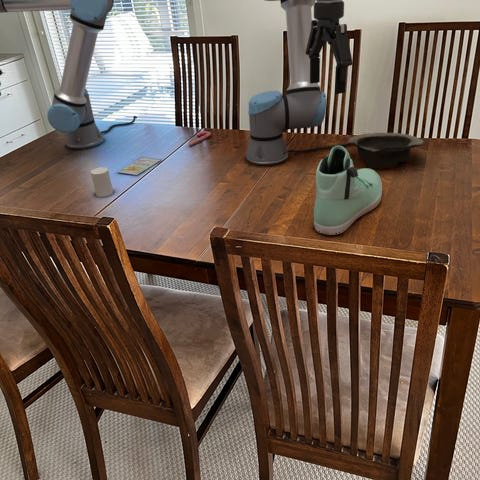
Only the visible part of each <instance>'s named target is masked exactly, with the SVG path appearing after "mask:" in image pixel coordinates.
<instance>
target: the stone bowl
mask: <svg viewBox="0 0 480 480" xmlns="http://www.w3.org/2000/svg"><path fill="white" fill-rule="evenodd" d="M347 143H348V144H351V145H350V146H352V147H353V146H354V147H356V150H357V151H356V152H357V154H358V156H359V157H360V158H361V160H362V161H365V162H366V163H367V167H368V168H369V169H381V170H382V169H386V168H388V169H389V168H390V169H391V168H394V167H397V166H398V164H399V163H407V162H408V161H409V160H410V155H411V149H415V148H418V147H419V146H421V145H422V144H425V143H426V142H424V140H423V139H420V138H419V137H417V136H414V135H411V134H407V133H401V132H400V133H399V132H373V133H362V134H358V135H354V136H350V138H348V142H347Z"/></svg>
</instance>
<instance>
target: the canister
mask: <svg viewBox="0 0 480 480" xmlns="http://www.w3.org/2000/svg"><path fill="white" fill-rule="evenodd" d="M90 176H91V179H92V183H93V188H94V192H95V196H97V197H98V198H105V197H110V196H111V195H113V193H114V190H113V189H114V188H113V185H112V181H111V177H110V172H109V169H108V167H105V166H102V167H101V166H100V167H96V168H93V169H91V171H90Z"/></svg>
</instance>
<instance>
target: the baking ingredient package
mask: <svg viewBox="0 0 480 480" xmlns="http://www.w3.org/2000/svg"><path fill="white" fill-rule="evenodd" d="M160 161H161V159H154V158H148V157H140V158H138V159H137V160H135V161H133V162H132V163H130V164H129V165H127V166H124V167H123V168H121V169H120V170H118V171H117V173H120V174H128V175H133V176H134V175H135V176H137V175H139V174H140V173H142V172H144V171H146V170H147V169H149V168H150V167H152V166H153V165H156V164H158V162H160Z"/></svg>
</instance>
